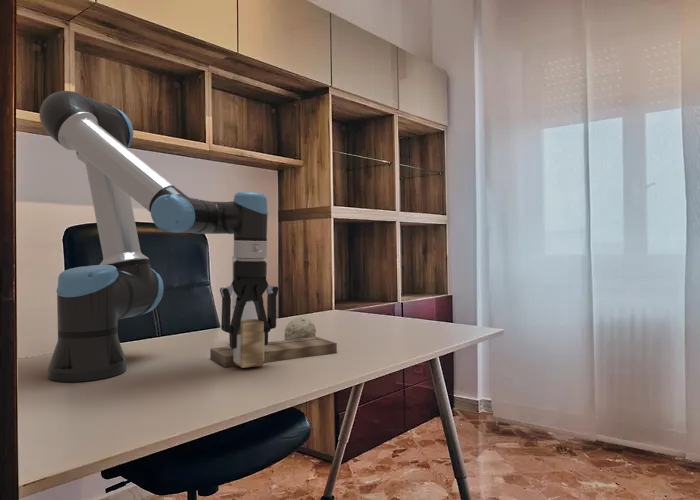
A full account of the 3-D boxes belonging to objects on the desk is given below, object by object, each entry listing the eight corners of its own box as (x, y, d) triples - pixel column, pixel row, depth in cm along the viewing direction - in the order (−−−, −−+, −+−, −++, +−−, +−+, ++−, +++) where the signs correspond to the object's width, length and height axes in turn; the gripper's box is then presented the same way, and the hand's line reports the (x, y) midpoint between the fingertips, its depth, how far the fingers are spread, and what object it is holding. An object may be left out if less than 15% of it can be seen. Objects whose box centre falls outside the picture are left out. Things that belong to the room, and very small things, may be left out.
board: (225, 367, 116) (225, 356, 116) (210, 358, 125) (210, 348, 125) (336, 352, 132) (336, 342, 132) (316, 345, 141) (316, 336, 141)
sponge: (317, 356, 146) (320, 325, 152) (312, 342, 138) (316, 310, 144) (285, 355, 147) (290, 324, 153) (279, 341, 139) (284, 309, 145)
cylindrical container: (255, 346, 140) (255, 256, 140) (229, 346, 140) (229, 256, 140) (260, 341, 147) (260, 256, 147) (235, 341, 147) (235, 256, 147)
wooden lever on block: (242, 367, 112) (242, 323, 112) (222, 355, 124) (222, 315, 124) (263, 365, 115) (263, 321, 115) (241, 353, 127) (241, 314, 127)
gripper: (216, 260, 108) (215, 369, 108) (292, 260, 117) (291, 359, 118) (206, 259, 114) (204, 362, 114) (279, 259, 124) (278, 353, 124)
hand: (248, 360), depth 116 cm, fingers closed on wooden lever on block, 5 cm apart
